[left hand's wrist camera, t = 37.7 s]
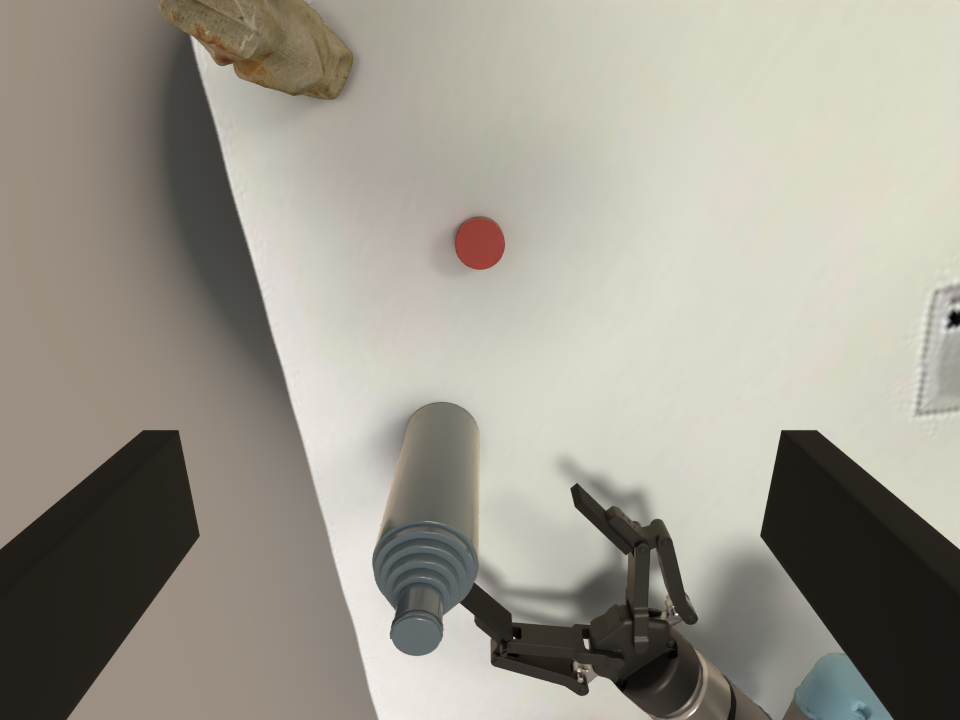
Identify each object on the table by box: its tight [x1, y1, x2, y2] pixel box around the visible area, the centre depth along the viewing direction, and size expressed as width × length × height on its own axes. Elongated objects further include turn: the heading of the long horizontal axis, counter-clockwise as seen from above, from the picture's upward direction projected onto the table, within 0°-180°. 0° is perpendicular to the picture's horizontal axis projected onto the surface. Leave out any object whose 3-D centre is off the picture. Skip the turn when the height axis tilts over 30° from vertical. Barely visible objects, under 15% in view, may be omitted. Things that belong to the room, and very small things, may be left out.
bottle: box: [372, 402, 479, 656], centre depth 42 cm, size 7×7×23 cm
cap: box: [455, 217, 505, 269], centre depth 46 cm, size 4×4×2 cm
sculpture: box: [159, 0, 353, 100], centre depth 35 cm, size 6×7×15 cm
